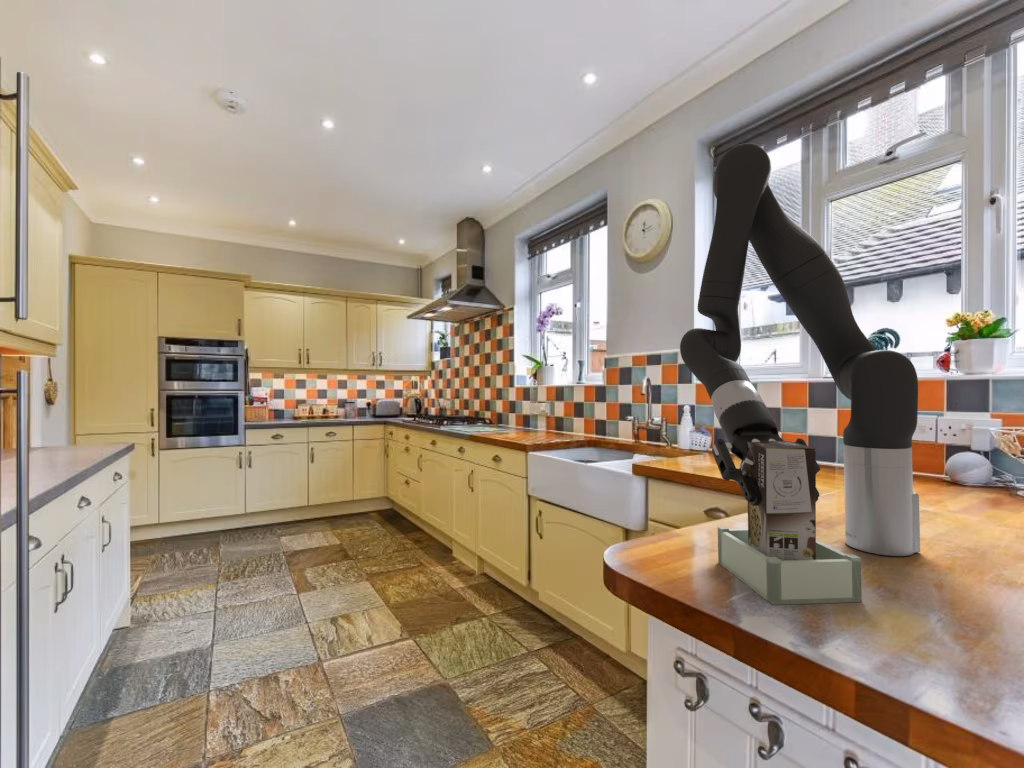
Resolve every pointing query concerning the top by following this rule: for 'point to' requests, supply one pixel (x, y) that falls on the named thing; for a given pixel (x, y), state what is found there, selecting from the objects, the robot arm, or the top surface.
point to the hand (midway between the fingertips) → (785, 502)
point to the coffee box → (783, 500)
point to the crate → (791, 572)
